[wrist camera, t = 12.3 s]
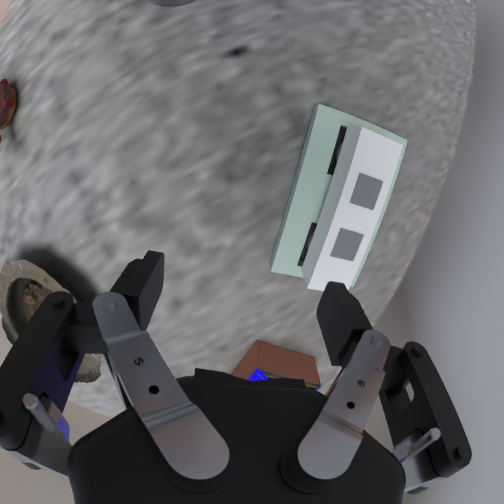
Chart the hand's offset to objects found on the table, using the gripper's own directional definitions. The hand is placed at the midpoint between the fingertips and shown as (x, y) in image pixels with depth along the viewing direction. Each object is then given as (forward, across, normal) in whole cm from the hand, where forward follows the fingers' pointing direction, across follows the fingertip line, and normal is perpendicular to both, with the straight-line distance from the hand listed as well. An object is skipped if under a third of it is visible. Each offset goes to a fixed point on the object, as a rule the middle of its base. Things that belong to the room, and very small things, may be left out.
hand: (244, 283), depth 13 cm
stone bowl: (+21, +30, +26) cm, 45 cm away
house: (+21, -9, +35) cm, 41 cm away
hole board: (+21, -12, 0) cm, 24 cm away
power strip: (+21, -12, 0) cm, 24 cm away
